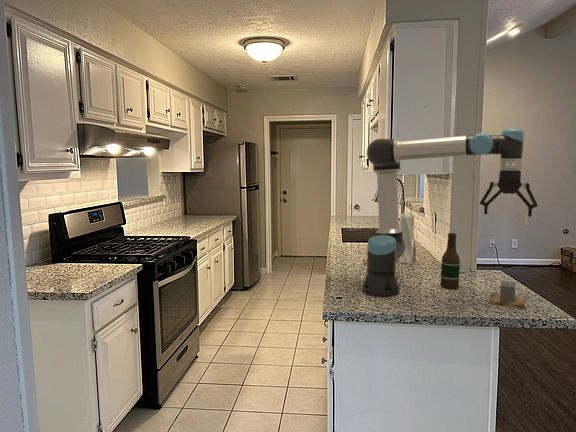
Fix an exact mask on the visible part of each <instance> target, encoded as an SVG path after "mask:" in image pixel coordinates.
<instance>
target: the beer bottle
mask: <svg viewBox="0 0 576 432" xmlns="http://www.w3.org/2000/svg"><path fill="white" fill-rule="evenodd" d="M456 242H457V234H456V232H455V233H454V232H449V233H447V244H446V250H445V252H443V254H442V256H441V268H440V270H441V271H440V287H441V288H444V289H447V290H457V289H458V288H459V285H460V268H461V267H460V266H461V262H460V261H461V259H460V256H459V254H458V253H457V243H456ZM456 288H457V289H456Z"/></svg>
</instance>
